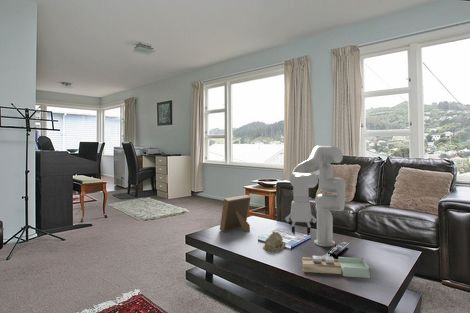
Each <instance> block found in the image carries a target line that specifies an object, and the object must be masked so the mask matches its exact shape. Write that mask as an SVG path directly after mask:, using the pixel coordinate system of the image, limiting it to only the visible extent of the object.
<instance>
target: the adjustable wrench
mask: <svg viewBox="0 0 470 313" xmlns="http://www.w3.org/2000/svg"><path fill="white" fill-rule="evenodd" d="M335 246H336V245H334V246H331V248H330V249H329V251H330V250H331V249H333V248H334V247H335ZM320 256H321V258H324V259H325V256H329V257H331V256H330V254H328V252H326V253H325V254H324V255H320Z"/></svg>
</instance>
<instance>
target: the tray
mask: <svg viewBox="0 0 470 313" xmlns="http://www.w3.org/2000/svg"><path fill="white" fill-rule="evenodd" d="M338 260H339V264H340V265H341V275H342V276H343V277H348V278H349V277H352V278H365V279H370V278H371V267H370V266H369V265H368V264H367V262H366V261H365V259H364V258H363V257H349V256H348V257H345V256H338Z"/></svg>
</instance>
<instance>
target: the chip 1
mask: <svg viewBox="0 0 470 313" xmlns="http://www.w3.org/2000/svg"><path fill="white" fill-rule="evenodd" d="M321 256H322V255H312V258H313V263H314V264H322V259H321Z"/></svg>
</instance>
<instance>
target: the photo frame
mask: <svg viewBox="0 0 470 313" xmlns="http://www.w3.org/2000/svg"><path fill="white" fill-rule="evenodd" d="M251 199H252V196H250V195H248V194H244V195H242V194H241V195H237V196H231V197H224V198H223V205H222V212H221V217H220V218H221V219H220V223H219V224H220V225H219V231H221V232H222V233H226V232H229V231H233V230H237V229H241V228H242V230H243V232H250V231H251V228H250V227H251V226H250V223H249V222H248V221H247V220H248V215H249V208H250V203H251Z"/></svg>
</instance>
